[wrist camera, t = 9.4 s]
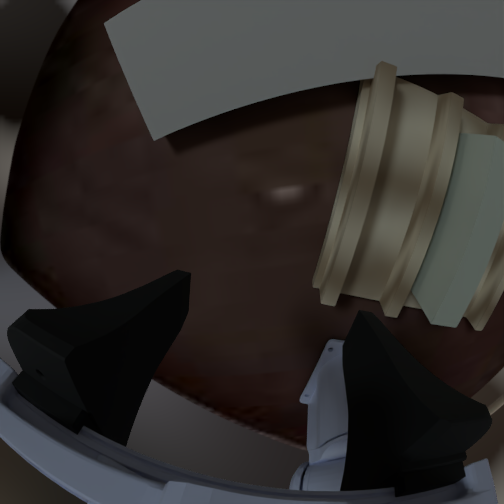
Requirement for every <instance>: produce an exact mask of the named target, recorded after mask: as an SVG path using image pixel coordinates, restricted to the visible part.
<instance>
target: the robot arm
mask: <svg viewBox="0 0 504 504" xmlns="http://www.w3.org/2000/svg"><path fill="white" fill-rule="evenodd" d="M190 280H191V273H189V272H185V271H181V270H176V271H173V272H171V273H169V274H167V275H165V276H163V277H161V278H159V279H157V280H154V281H152V282H150V283H148V284H146V285H144V286H142V287H139V288H137V289H134V290H132V291H130V292H127V293H125V294H122V295H119V296H117V297H114V298H110V299H107V300H104V301H100V302H96V303H91V304H86V305H82V306H76V307H69V308H60V309H29V310H27V311H26V312H25V313H24V314H23V315H22V316H21V317H20V318H18V319H17V320H16V321H15V322H14V323H13V324H12V325H11V326H9V327H8V331H7V336H8V341H9V343H10V346H11V348H12V350H13V352H14V354H15V356H16V358H17V360H18V362H19V364H20V366H21V368H22V370H23V371H22V372H21V373H20V374H19V375H18V374H17V373H16V372H15V370H14V369H13V368H12V367H10V366H9V365H8V364H7V363H6V362H5V361H3V360H2V359H1V358H0V437H1V438H2V439H3V440H4V441H5V442H6V443H7V444H8V445H9V446H10V447H11V448H12V449H14V450H15V451H16V452H17V453H18V454H19V455H20V456H22V457H23V458H24V459H25V460H26V461H28V462H29V463H30V464H31V465H32V466H34V467H35V468H36V469H38V470H39V471H40V472H41V473H43V474H44V475H46V476H47V477H48V478H49V479H51V480H52V481H54V482H55V483H57V484H58V485H60V486H61V487H63V488H64V489H66V490H67V491H69V492H70V493H72V494H74V495H75V496H77V497H78V498H80V499H82V500H83V501H85V502H87V504H497V503H498V501H497V496H496V491H495V486H494V482H493V478H492V474H491V470H490V467H489V463H488V460H487V459H483V460H480V461H477V462H474V463H471V464H469V465H467V466H465V467H464V466H463V462H462V461H464V460H466V458H467V456H466V452H465V451H466V450H467V449H469V448H470V447H471V446H472V445H473V444H475V443H476V442H477V441H478V440H479V439H480V438H481V437H482V436H483V435H484V434H485V433H486V432H487V431H488V429H489V428H490V426H491V424H492V418H491V416H490V413H489V411H488V409H487V407H486V405H484V404H482V403H479V402H477V401H475V400H473V399H471V398H469V397H467V396H465V395H463V394H461V393H460V392H458V391H456V390H454V389H453V388H451V387H450V386H448V385H447V384H445V383H444V382H443V381H441V380H440V379H438V378H437V377H436V376H434V375H433V374H432V373H431V372H429V371H428V370H427V369H426V368H425V367H424V366H422V365H421V364H420V363H419V362H418V361H417V360H416V359H415V358H414V357H413V356H412V355H411V354H410V353H409V352H408V351H407V350H406V349H405V348H404V347H403V346H402V345H401V344H400V343H399V341H398V340H397V339H396V338H395V337H394V336H393V335H392V334H391V333H390V331H389V330H388V329H387V328H386V327H385V326H384V325H383V323H382V322H381V321H380V320H379V319H378V318H377V317H376V316H375V315H374V314H373V313H372V312H366V311H361V310H359V311H358V314H357V316H356V318H355V320H354V322H353V325H352V327H351V329H350V331H349V333H348V335H347V337H346V339H345V341H343V340H337V339H331V340H329V341H328V342H327V344H326V346H325V348H324V350H323V352H322V355H321V357H320V359H319V361H318V363H317V365H316V367H315V369H314V371H313V373H312V375H311V377H310V379H309V381H308V383H307V385H306V387H305V389H304V391H303V393H302V395H301V397H300V402H301V403H305V404H308V427H307V450H308V453H309V462H305V463H303V464H301V465H300V466H299V467H298V469H297V470H296V472H295V473H294V475H293V477H292V479H291V483H290V488H289V489H280V488H271V487H263V486H257V485H250V484H245V483H239V482H233V481H229V480H225V479H220V478H216V477H212V476H208V475H204V474H200V473H197V472H193V471H190V470H186V469H183V468H180V467H177V466H174V465H171V464H167V463H165V462H162V461H159V460H157V459H154V458H151V457H149V456H146V455H144V454H141V453H139V452H136V451H134V450H132V449H129V448H127V447H126V445H127V441H128V438H129V435H130V432H131V429H132V426H133V423H134V421H135V418H136V415H137V413H138V410H139V407H140V405H141V402H142V400H143V397H144V395H145V392H146V390H147V388H148V386H149V384H150V381H151V379H152V377H153V375H154V373H155V371H156V369H157V367H158V366H159V364H160V363H161V361H162V359H163V358H164V356H165V354H166V353H167V351H168V350H169V348H170V346H171V345H172V343H173V342H174V340H175V338H176V337H177V335H178V333H179V332H180V330H181V328H182V326H183V323H184V321H185V319H186V316H187V314H188V311H189V294H190ZM329 348H332V349H329Z"/></svg>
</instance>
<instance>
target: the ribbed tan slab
mask: <svg viewBox="0 0 504 504" xmlns="http://www.w3.org/2000/svg"><path fill="white" fill-rule="evenodd" d="M396 72H397V66H394V65H392V64H389V63H386V62H384V61H381V62H380V63H378V64H377V65H376V69H375V74H374V78H370V79H362V80H360V86H359V92H358V98H357V104H356V109H355V114H354V120H353V125H352V130H351V134H350V139H349V144H348V149H347V153H346V158H345V162H344V166H343V171H342V175H341V179H340V183H339V187H338V191H337V195H336V199H335V203H334V207H333V211H332V215H331V218H330V222H329V226H328V229H327V233H326V236H325V240H324V243H323V247H322V250H321V254H320V257H319V260H318V264H317V267H316V270H315V274H314V277H313V280H312V283H313V287H314V288H319V290H320V298H321V304H326V305H331V306H335V305H336V302H337V300H338V297H339V294H340V293H343V294H348V295H352V296H357V297H362V298H367V299H372V300H377V301H380V304H381V306H382V309H383V311H384V313H385V316H389V317H395V318H397V317H398V315H399V313H400V311H401V309H402V307H403V306H408V307H413V308H419V309H422V308H421V306H420V304H419V303H418V301H417V299H416V298H415V296H414V295H413V293H412V291H411V287H412V285H413V283H414V281H415V278H416V276H417V274H418V271H419V269H420V267H421V264H422V262H423V259H424V257H425V254H426V251H427V249H428V246H429V244H430V241H431V238H432V235H433V232H434V229H435V227H436V224H437V221H438V217H439V214H440V211H441V208H442V205H443V201H444V198H445V194H446V191H447V187H448V183H449V179H450V175H451V171H452V167H453V162H454V158H455V153H456V148H457V143H458V137H459V133H468V134H482V135H492V136H497V137H498V138H500V139H501V140H502V141H504V124H488V123H486V122H485V121H483V120H482V119H480V118H478V117H477V116H475V115H473V114H472V113H470V112H468V111H467V110H465V109H463V101H464V98H462V97H460V96H458V95H456V94H455V93H453V92H450V93H446V94H441V95H437V94H435V93H433V92H431V91H428V90H426V89H424V88H422V87H420V86H417V85H415V84H413V83H410V82H408V81H406V80H403V79H401V78H398V77H396ZM503 290H504V221H503V224H502V227H501V230H500V233H499V236H498V239H497V242H496V244H495V247H494V250H493V252H492V255H491V257H490V260H489V262H488V265H487V267H486V269H485V272H484V274H483V276H482V278H481V281H480V283H479V285H478V287H477V289H476V291H475V293H474V295H473V297H472V299H471V301H470V303H469V305H468V307H467V309H466V311H465V313H464V314H463V317H466V318H467V319H468V320H469V322H470V323H471V325H472V326H473V327H474V329H475V330H480V331H482V329H483V328H484V326H485V324H486V322H487V321H488V319H489V317H490V315H491V314H492V312H493V310H494V308H495V306H496V304H497V302H498V300H499V298H500V296H501V294H502V292H503Z"/></svg>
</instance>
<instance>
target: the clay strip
mask: <svg viewBox="0 0 504 504" xmlns="http://www.w3.org/2000/svg"><path fill="white" fill-rule="evenodd" d="M503 221H504V141H502V140H501V139H500V138H498V137H497V136H492V135H482V134H468V133H459V137H458V143H457V148H456V153H455V158H454V162H453V167H452V171H451V175H450V179H449V183H448V187H447V191H446V194H445V198H444V201H443V205H442V208H441V211H440V214H439V217H438V221H437V224H436V227H435V229H434V232H433V235H432V238H431V241H430V244H429V246H428V249H427V251H426V254H425V257H424V259H423V262H422V264H421V267H420V269H419V271H418V274H417V276H416V278H415V281H414V283H413V285H412V287H411V291H412V293H413V295H414V296H415V298H416V299H417V301H418V303H419V304H420V306H421V308H422V309H423V311H424V313H425V315H426V316H427V318H428V320H429V321H430V323H431V324H435V325H442V326H449V327H457V325H458V323H459V322H460V320H461V318H462V316H463V314H464V313H465V311H466V309H467V307H468V305H469V303H470V301H471V299H472V297H473V295H474V293H475V291H476V289H477V287H478V285H479V283H480V281H481V278H482V276H483V274H484V272H485V269H486V267H487V265H488V262H489V260H490V257H491V255H492V252H493V250H494V247H495V244H496V242H497V239H498V236H499V233H500V230H501V227H502V224H503Z"/></svg>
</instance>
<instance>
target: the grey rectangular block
mask: <svg viewBox="0 0 504 504" xmlns="http://www.w3.org/2000/svg"><path fill="white" fill-rule="evenodd" d="M104 25H105V27H106V30H107V33H108V35H109V38H110V40H111V43H112V45H113V48H114V50H115V53H116V55H117V58H118V60H119V62H120V65H121V67H122V70H123V72H124V74H125V77H126V79H127V81H128V84H129V86H130V88H131V91H132V93H133V95H134V98H135V100H136V102H137V104H138V107H139V109H140V111H141V113H142V116H143V118H144V120H145V122H146V125H147V127H148V129H149V131H150V133H151V136H152V138H153V140H156V139H159V138H161V137H163V136H165V135H168V134H170V133H172V132H175V131H177V130H179V129H182V128H184V127H187V126H189V125H192V124H194V123H197V122H200V121H202V120H205V119H208V118H210V117H213V116H216V115H219V114H221V113H224V112H227V111H230V110H233V109H236V108H239V107H243V106H246V105H249V104H252V103H256V102H259V101H263V100H266V99H270V98H273V97H277V96H281V95H285V94H289V93H293V92H297V91H302V90H306V89H311V88H316V87H320V86H326V85H331V84H337V83H342V82H349V81H355V80H362V79H370V78H374V74H375V69H376V65H377V64H378V63H380V62H381V61H384V62H386V63H389V64H392V65H394V66H397V72H396V76H401V75H419V74H464V75H481V76H492V77H501V78H504V0H141V1H139V2H138V3H136V4H134V5H132V6H131V7H129V8H127V9H126V10H124V11H122V12H121V13H119V14H118V15H116V16H114V17H113V18H111V19H110V20H108V21H107V22H105V23H104Z"/></svg>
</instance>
